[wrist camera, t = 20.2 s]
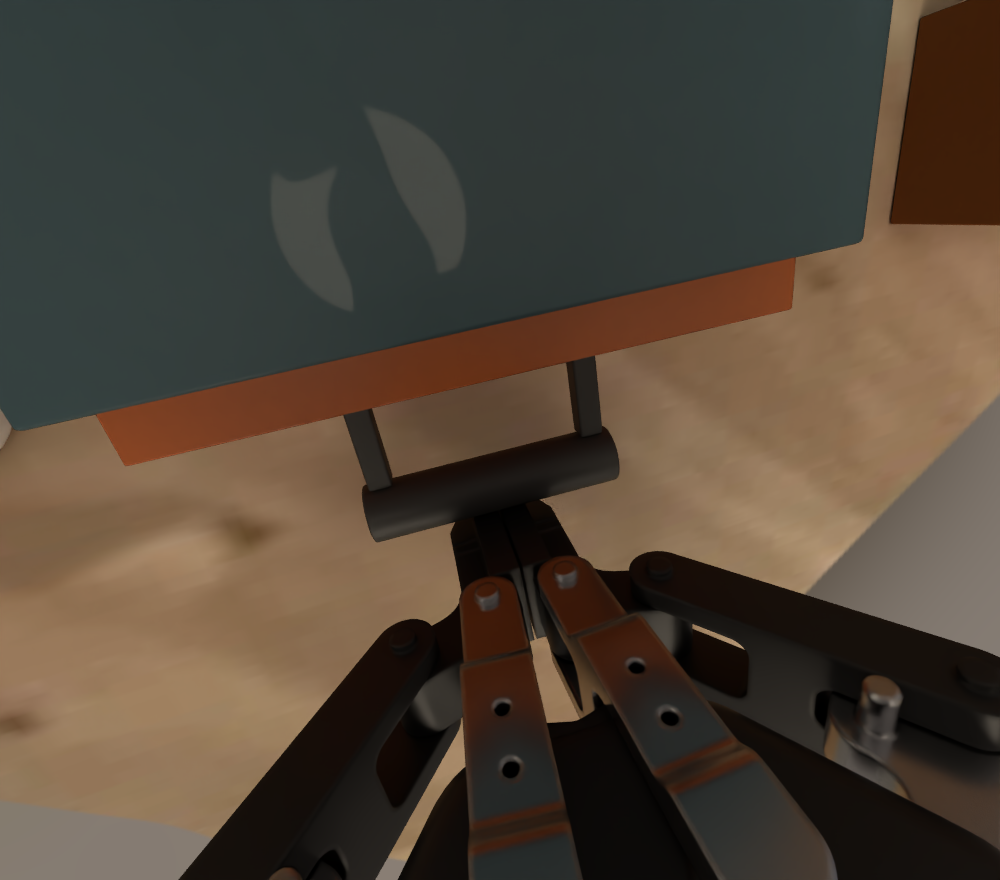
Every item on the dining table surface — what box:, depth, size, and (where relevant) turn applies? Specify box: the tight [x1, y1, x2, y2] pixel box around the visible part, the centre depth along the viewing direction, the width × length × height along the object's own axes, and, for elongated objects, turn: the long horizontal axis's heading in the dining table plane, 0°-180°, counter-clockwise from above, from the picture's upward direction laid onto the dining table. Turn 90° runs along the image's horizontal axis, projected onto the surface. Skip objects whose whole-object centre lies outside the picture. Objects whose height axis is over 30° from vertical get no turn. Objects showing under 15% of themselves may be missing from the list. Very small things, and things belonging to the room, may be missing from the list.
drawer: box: [96, 257, 796, 542], centre depth 11 cm, size 18×13×7 cm
